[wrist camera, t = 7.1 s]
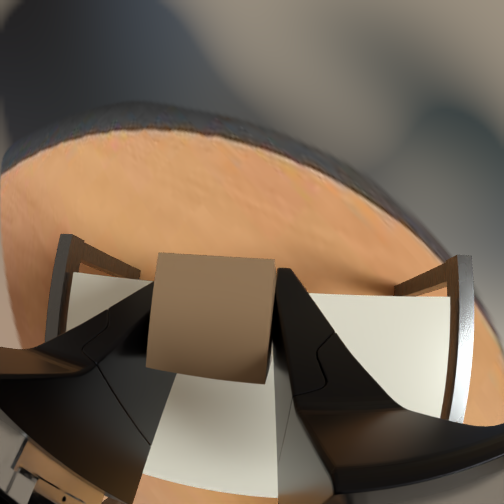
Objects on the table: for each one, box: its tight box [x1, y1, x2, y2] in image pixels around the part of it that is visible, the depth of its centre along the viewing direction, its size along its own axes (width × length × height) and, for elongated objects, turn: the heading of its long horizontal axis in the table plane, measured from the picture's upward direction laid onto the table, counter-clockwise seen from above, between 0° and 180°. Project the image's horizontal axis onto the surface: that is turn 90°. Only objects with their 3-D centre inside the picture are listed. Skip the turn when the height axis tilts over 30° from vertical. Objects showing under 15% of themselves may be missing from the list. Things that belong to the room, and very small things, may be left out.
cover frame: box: [45, 234, 474, 504], centre depth 15 cm, size 22×22×9 cm
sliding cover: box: [66, 253, 450, 498], centre depth 8 cm, size 10×19×8 cm, turn 85°
